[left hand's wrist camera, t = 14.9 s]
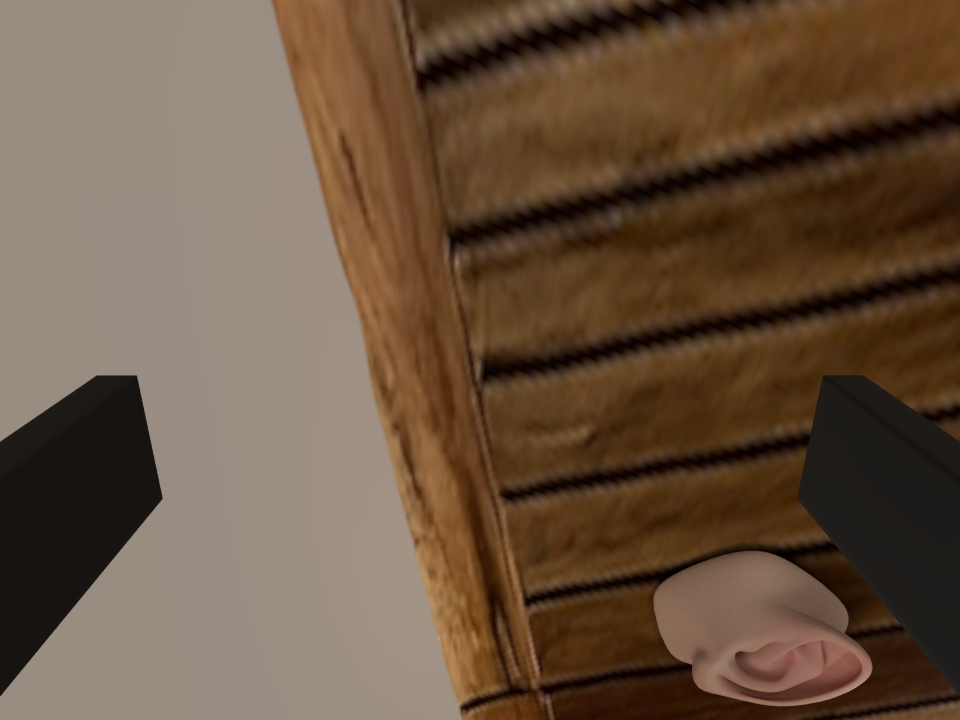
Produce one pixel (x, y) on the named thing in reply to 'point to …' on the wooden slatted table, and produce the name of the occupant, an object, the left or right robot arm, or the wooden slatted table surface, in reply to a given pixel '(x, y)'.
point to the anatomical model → (759, 630)
